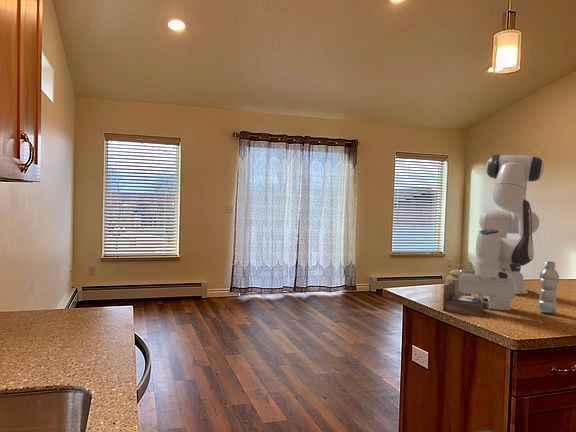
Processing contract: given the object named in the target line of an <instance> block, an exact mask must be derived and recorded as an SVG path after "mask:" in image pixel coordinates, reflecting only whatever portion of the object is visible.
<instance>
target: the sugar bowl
mask: <svg viewBox="0 0 576 432" xmlns="http://www.w3.org/2000/svg"><path fill="white" fill-rule="evenodd" d="M461 268H462V265H461V264H460V263H458V264H457V265H456V269H452V270H451V271H449V272H448V273H449V275H447V276H445V284H446V283H448V282H449V281H451V280H455V294H458V295H466V296H472V294H469V293H461V292H460V291H459V290H458V287H459V281H460V279H459V277H458V276H459V271H461V270H462V269H461ZM461 272H463V271H461ZM445 284H444V285H445Z"/></svg>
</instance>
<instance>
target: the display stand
mask: <svg viewBox="0 0 576 432" xmlns="http://www.w3.org/2000/svg"><path fill="white" fill-rule="evenodd" d="M445 283H446V282H445ZM454 295H458V294H455V280H451V281H449V282H448V283H446V284H444V285H443V297H442V298H443V301H442V311H444V312H449V313H456V314H457V313H458V314H461V315H462V314H463V315H469V316H470V315H471V316H476V317H477V316H478V317H483V315H484V313H483V312H484V309H485V308H487V310H488V309H489V307H483V305H477V304H470V303H463V302H456V301H451V298H452V297H453V296H454ZM460 296H461V295H460ZM462 296H466V295H462ZM470 297H474V296H472V295H471V296H470ZM476 297H477V298H479V296H476ZM482 299H483V301H484V302H488V298H487V297H482Z"/></svg>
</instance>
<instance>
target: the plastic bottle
mask: <svg viewBox="0 0 576 432" xmlns="http://www.w3.org/2000/svg"><path fill="white" fill-rule="evenodd" d="M543 267H544V268H543V269H542V270H541V271H540V272H539V288H540V290H539V298H538V301H537V310H538V311H539V312H541V313H544V314H555V313H556V312H557V311H558V303H557V290H558V284H559V279H560V276H559V275H560V274H559V273H558V271H557V270H556V269H555V268H556V262H555V261H544V262H543Z"/></svg>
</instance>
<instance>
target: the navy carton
mask: <svg viewBox="0 0 576 432" xmlns="http://www.w3.org/2000/svg"><path fill="white" fill-rule="evenodd" d="M477 297H478V296H473V297H470V296H462V295H461V296H460V295H454V296H453V297H452V298H451V301H456V302H463V303H470V304H477V305H481V301H480V299H479V298H477Z"/></svg>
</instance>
